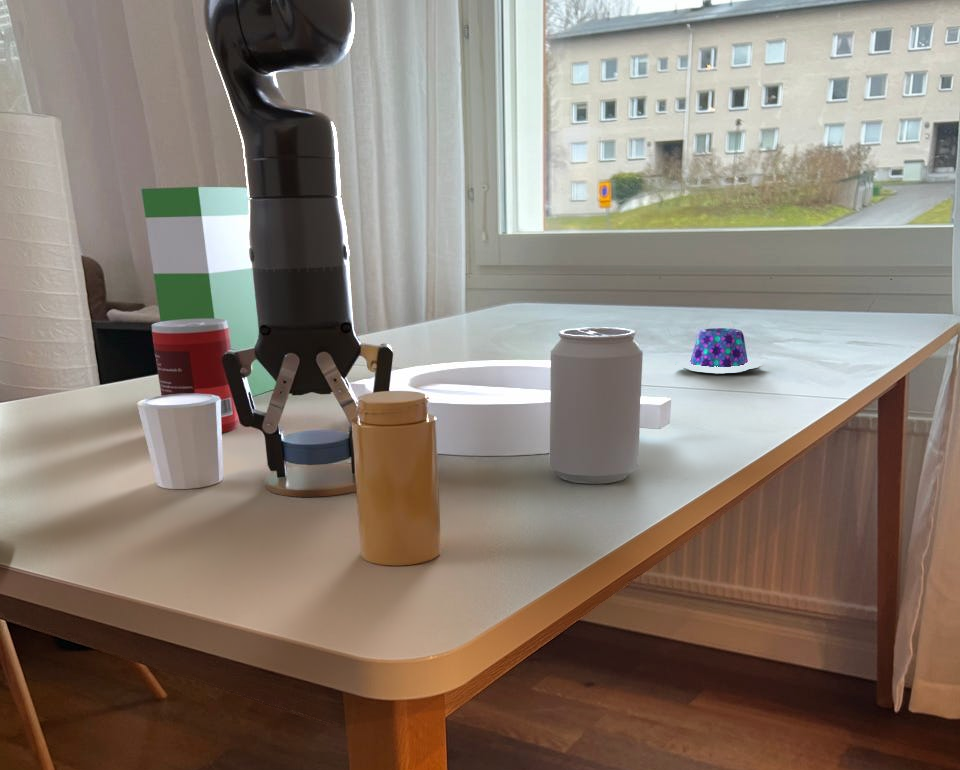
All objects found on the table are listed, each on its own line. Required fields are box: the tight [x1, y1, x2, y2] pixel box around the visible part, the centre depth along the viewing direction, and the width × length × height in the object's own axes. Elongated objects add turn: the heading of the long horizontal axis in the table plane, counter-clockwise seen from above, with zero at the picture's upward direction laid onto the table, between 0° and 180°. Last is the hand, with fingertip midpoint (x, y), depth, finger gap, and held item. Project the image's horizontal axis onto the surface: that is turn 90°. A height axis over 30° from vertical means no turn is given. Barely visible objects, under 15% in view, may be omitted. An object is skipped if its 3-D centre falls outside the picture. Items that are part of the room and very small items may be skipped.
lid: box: [282, 429, 351, 466], centre depth 83 cm, size 6×6×2 cm
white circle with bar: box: [348, 359, 672, 457], centre depth 104 cm, size 28×28×5 cm
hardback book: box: [141, 186, 276, 398], centre depth 123 cm, size 18×7×24 cm, turn 162°
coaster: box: [265, 463, 356, 498], centre depth 84 cm, size 9×9×1 cm
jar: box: [350, 391, 442, 567], centre depth 65 cm, size 5×5×10 cm
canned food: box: [151, 319, 240, 434], centre depth 105 cm, size 8×8×11 cm
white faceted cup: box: [136, 393, 224, 490], centre depth 85 cm, size 7×7×7 cm
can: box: [549, 327, 644, 485], centre depth 83 cm, size 8×8×12 cm
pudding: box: [690, 327, 749, 367], centre depth 136 cm, size 12×12×5 cm
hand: (319, 472), depth 84 cm, fingers closed on lid, 5 cm apart
